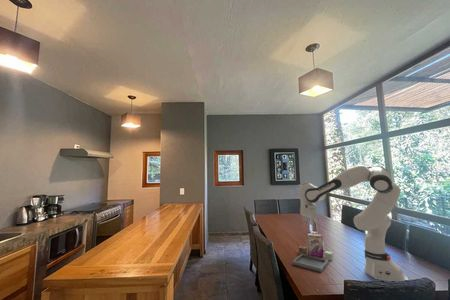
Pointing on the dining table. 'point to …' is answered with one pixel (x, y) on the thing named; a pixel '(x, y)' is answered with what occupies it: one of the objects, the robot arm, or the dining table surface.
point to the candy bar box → (315, 245)
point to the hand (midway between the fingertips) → (308, 223)
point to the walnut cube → (302, 250)
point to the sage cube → (328, 255)
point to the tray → (311, 262)
